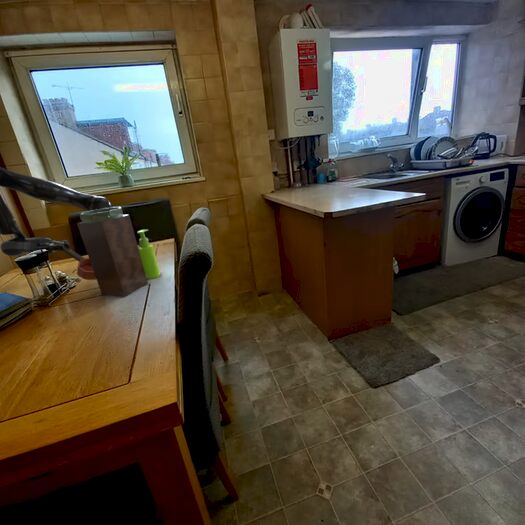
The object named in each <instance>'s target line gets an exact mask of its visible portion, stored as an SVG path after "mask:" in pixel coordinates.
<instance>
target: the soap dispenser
mask: <svg viewBox="0 0 525 525" xmlns="http://www.w3.org/2000/svg"><path fill="white" fill-rule="evenodd" d="M147 231H148V232H149V229H147V228H146V229H140V230H138V231H137V234H138V235H139V236H140V238H139V239H138V242H139V243H140V245H141V247H140V245H139V246H138V249H139V252H140V256H141V260H142V263H143V267H144V270H145V274H146V278H147V280H151V279H156V278H158V277H160V276H161V272H160V267H159V263H158V260H157V256H156V252H155V247H154V245H152V244H150V242H149V241H150V240H148V239H149V238H148V237H146V235H145V232H147Z"/></svg>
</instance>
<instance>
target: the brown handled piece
mask: <svg viewBox="0 0 525 525" xmlns="http://www.w3.org/2000/svg"><path fill="white" fill-rule="evenodd" d="M58 245H63V244H62V243H61V244H58ZM64 248H65V250H64V251H62V252H63V253H65V254H67V255H68V256H70V258H73V259H74V260H76V261H77V268H76V270H77V271H76V275H77V276H78V277H80V278H81V279H83V280H86V281H87V280H88V281H97V280H96V277H95V274H94V271H93V268H92V265H91V262H90V259H89V257H87V258H85V257H83V256H82V255H81V254H79V253H77V252H76V251H74V250H73V249H71V248H70V249H69V248H68V247H66V246H65V245H64Z"/></svg>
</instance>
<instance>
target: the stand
mask: <svg viewBox="0 0 525 525" xmlns="http://www.w3.org/2000/svg"><path fill="white" fill-rule="evenodd" d="M110 209H111V210H110ZM79 218H80V221H79V222H77V223H76V224H77V227H78V231H79V233H80V236H81V239H82V243H83V245H84V247H85V250H86V254H87V256H88V257H87V258H89V259H90V262H91V265H92V268H93V271H94V274H95V277H96V280H95V281H96V282H97V285H98V288H99V291H100V293H101V294H100V295H101V296H109V297H110V296H111V297H122V298H126V297H127V296H129V295H131V294H132V293H134V292H136V291H138V290H139V289H141V288H143V287H144V286H146V285H148V284H149V281H148V279H147V278H146V274H145V270H144V267H143V263H142V260H141V256H140V252H139V249H138V248H139V244H138V242H137V238H136V235H135V231H134V227H133V224H132V220H131V216H130V214H124V213H123V209H122V206H112V207H110V208H103V209H96V211H95V210H91V211H87V210H86V211H83V212H80V213H79Z"/></svg>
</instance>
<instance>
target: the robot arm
mask: <svg viewBox="0 0 525 525" xmlns="http://www.w3.org/2000/svg"><path fill="white" fill-rule="evenodd" d="M0 187H2V188H6V189H10V190H14V191H15V192H16V191H17V192H18V193H20V194H22V195H25V196H28V197H31V198H32V199H36V200H39V201H41V202H48V203H50V204H55V205H61V206H67V207H68V206H69V207H73V208H74V207H75V208H78V209H81V210H84V211H86V212H87V211H91V210H95V211H96V209H103V208H110V207H113V206H112V203H111V202H110V200H108V199H107V198H106V197H103V196H99V195H92V194H86V193H83V192H80V191H76V190H74V189H72V188H69V187H67V186H64V185H62V184H59V183H57V182H53V181H50V180H47V179H43V178H39V177H36V176H31V175H27V174H22V173H19V172H15V171H12V170H9V169H6V168H4V167H1V166H0ZM110 210H111V209H110ZM0 235H1V236H9V235H10V236H11V235H12V236H13V237H11V238H9V239H6V240H3V241H2V242H1V243H0V251H1V252H2V253H3V254H4V255H6V256H8V257H16V256H22V255H30V254H29V253H31V252H33V251H36V250H39V249H46V250H48V255H47V256H50V255H51V254H53V253H55V252H58V251H60V252H61V251H62V252H63V251H64V250H65V248H64V245H65V246H66V247H68V248H69V249H71V248H72V247H71V244H70V243H69V242H68V240H67V239H62V240H61V241H59V240H57V241H56V240H53V239H51V238H49V237H27V236H26V234H24V233H23V231H22V230H21V228H20V227H19V226H18V223H17V221H16V219H15V217H14V215H13V212H12V210H11V209H10V208H9V206H8V205H7V203H6V202H5V200H4V198H3V196H2V194H1V193H0ZM148 241H153V239H151V238H148ZM61 243H62V244H63V245H58V244H61ZM138 246H139V247H141V245H140V242H139V243H138Z"/></svg>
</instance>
